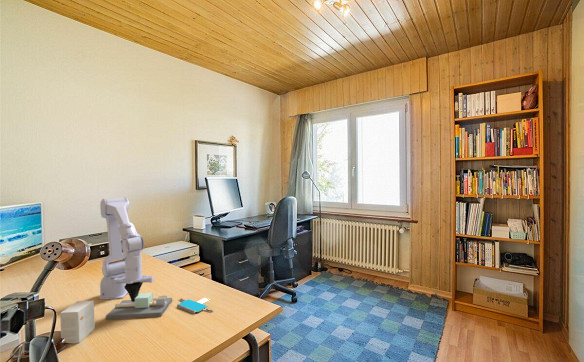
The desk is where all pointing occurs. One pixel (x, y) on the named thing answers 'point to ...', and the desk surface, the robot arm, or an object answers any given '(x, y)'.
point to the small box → (77, 321)
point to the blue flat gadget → (193, 305)
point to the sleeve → (143, 300)
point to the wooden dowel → (133, 304)
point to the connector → (161, 301)
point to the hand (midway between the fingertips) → (134, 300)
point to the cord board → (137, 311)
